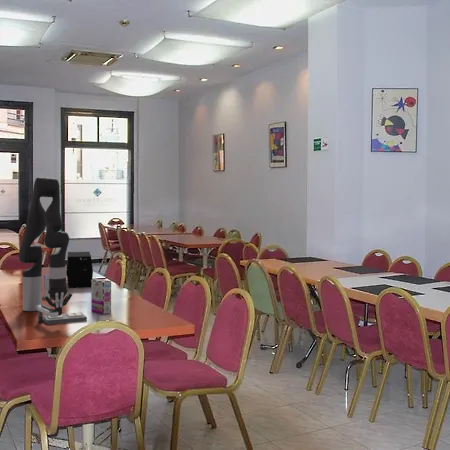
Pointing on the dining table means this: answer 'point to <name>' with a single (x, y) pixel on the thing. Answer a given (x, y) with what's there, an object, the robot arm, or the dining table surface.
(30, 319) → the dining table surface
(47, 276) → the ink cartridge box
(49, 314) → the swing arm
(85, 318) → the label panel
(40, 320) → the pivot post
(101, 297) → the candy bar box
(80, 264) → the uninterruptible power supply
